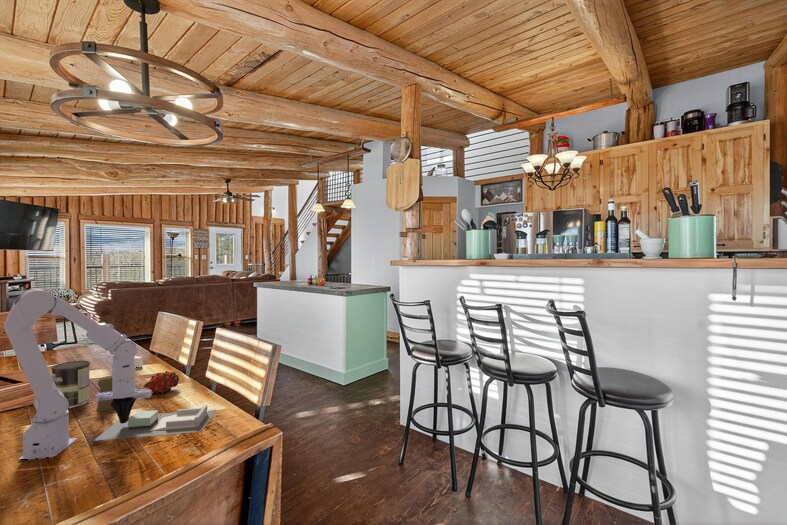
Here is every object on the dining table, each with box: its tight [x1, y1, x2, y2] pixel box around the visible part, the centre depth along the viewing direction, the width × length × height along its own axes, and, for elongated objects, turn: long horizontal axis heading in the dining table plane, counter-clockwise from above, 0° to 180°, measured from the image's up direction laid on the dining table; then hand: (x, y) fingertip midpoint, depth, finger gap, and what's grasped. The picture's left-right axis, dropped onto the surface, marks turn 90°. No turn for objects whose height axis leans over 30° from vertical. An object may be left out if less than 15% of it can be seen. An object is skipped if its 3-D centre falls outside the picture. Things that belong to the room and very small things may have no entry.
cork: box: [96, 375, 114, 412], centre depth 126 cm, size 6×6×11 cm
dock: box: [93, 405, 217, 442], centre depth 114 cm, size 16×28×4 cm, turn 101°
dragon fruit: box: [143, 370, 180, 394], centre depth 142 cm, size 8×8×12 cm
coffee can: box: [50, 360, 91, 409], centre depth 130 cm, size 10×10×14 cm
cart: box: [128, 409, 159, 429], centre depth 113 cm, size 6×7×3 cm
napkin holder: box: [135, 355, 144, 367], centre depth 173 cm, size 15×11×6 cm
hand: (124, 421), depth 112 cm, fingers closed
